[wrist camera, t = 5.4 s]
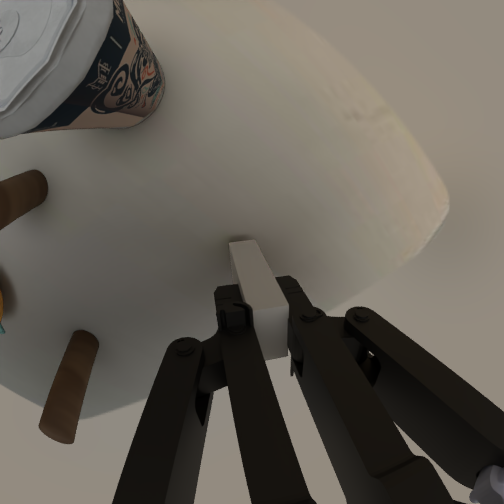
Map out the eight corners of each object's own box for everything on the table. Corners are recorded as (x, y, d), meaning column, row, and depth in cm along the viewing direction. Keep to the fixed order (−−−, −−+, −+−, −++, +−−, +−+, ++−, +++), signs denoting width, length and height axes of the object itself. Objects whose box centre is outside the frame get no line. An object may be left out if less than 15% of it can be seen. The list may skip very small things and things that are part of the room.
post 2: (79, 352, 19) (51, 441, 11) (67, 330, 18) (31, 420, 10) (103, 352, 20) (80, 445, 12) (92, 329, 19) (61, 425, 11)
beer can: (174, 112, 14) (118, 68, 3) (98, 141, 14) (-53, 182, 3) (155, 40, 12) (96, -87, 1) (80, 71, 12) (-61, 24, 1)
